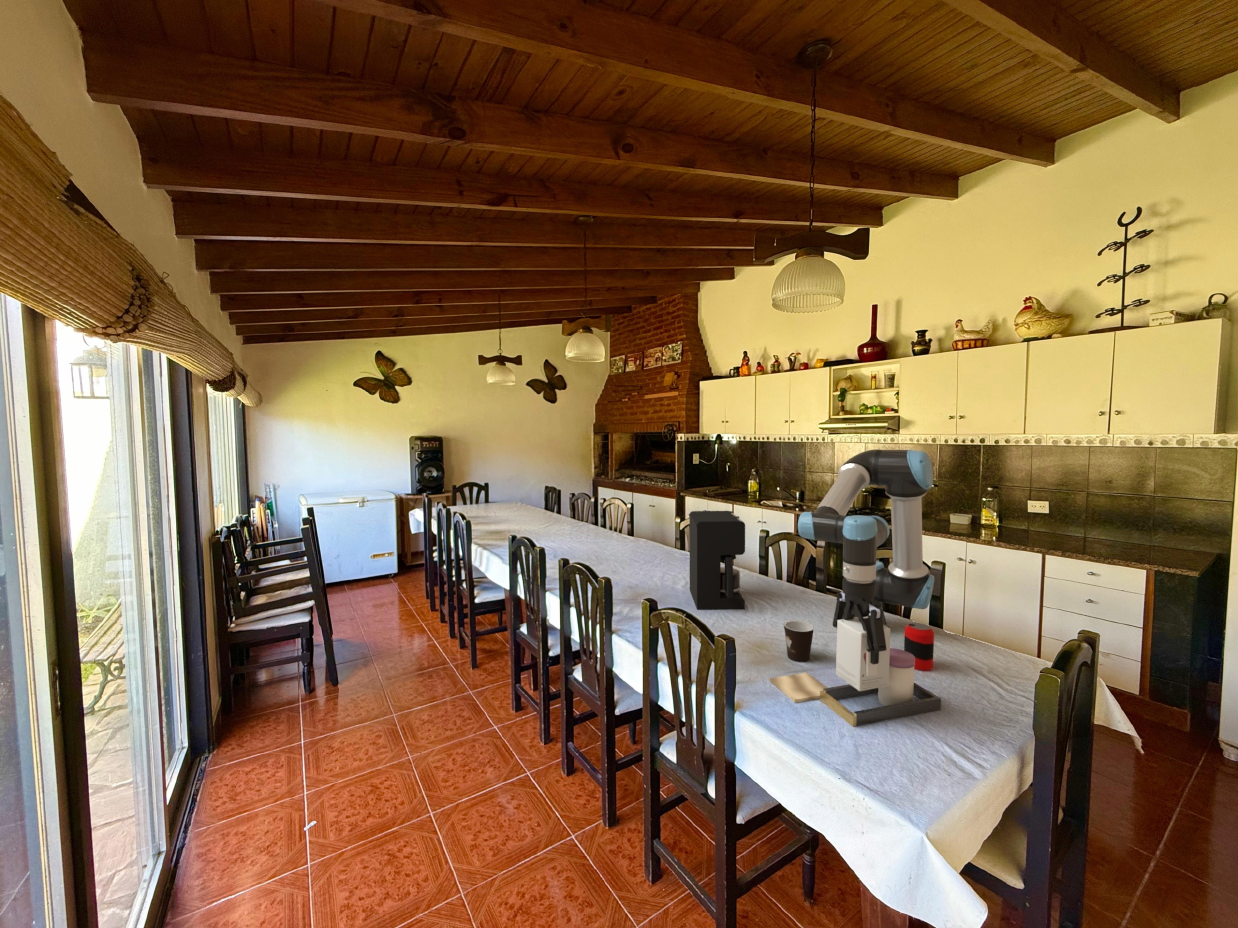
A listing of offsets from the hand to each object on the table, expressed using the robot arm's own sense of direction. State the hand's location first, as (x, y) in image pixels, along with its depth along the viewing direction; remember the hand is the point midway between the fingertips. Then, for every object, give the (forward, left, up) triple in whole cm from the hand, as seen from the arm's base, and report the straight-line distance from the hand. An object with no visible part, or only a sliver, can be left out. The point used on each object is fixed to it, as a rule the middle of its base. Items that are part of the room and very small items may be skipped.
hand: (857, 665), depth 133 cm
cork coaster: (+7, -13, -11) cm, 18 cm away
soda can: (-34, -15, -11) cm, 38 cm away
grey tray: (-7, 0, -11) cm, 13 cm away
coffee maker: (-2, -84, -11) cm, 84 cm away
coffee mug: (-4, -31, -11) cm, 33 cm away
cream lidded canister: (-12, 0, -11) cm, 16 cm away
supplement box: (-2, 0, -4) cm, 5 cm away
